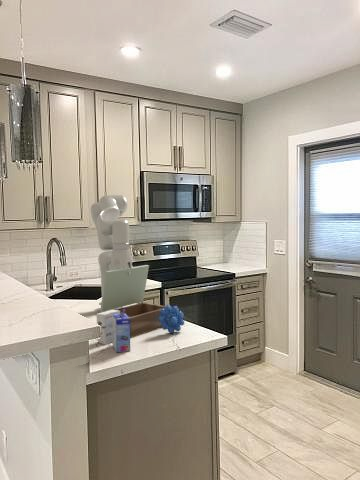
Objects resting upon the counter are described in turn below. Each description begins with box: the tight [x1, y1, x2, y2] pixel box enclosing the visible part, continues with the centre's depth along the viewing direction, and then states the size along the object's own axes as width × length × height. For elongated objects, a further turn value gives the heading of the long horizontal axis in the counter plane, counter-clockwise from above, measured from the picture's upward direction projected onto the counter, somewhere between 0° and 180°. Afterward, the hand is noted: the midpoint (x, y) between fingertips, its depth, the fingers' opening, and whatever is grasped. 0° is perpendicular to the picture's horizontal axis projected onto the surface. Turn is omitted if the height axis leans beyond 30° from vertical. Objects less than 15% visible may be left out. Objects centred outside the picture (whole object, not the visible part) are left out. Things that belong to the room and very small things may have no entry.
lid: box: [99, 264, 150, 313], centre depth 179 cm, size 19×25×2 cm
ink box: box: [95, 310, 120, 345], centre depth 156 cm, size 9×5×12 cm, turn 141°
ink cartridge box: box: [112, 309, 131, 353], centre depth 147 cm, size 10×6×14 cm, turn 17°
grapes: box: [158, 304, 185, 334], centre depth 164 cm, size 12×7×12 cm, turn 113°
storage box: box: [115, 302, 166, 339], centre depth 175 cm, size 18×24×8 cm
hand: (122, 286), depth 181 cm, fingers closed
